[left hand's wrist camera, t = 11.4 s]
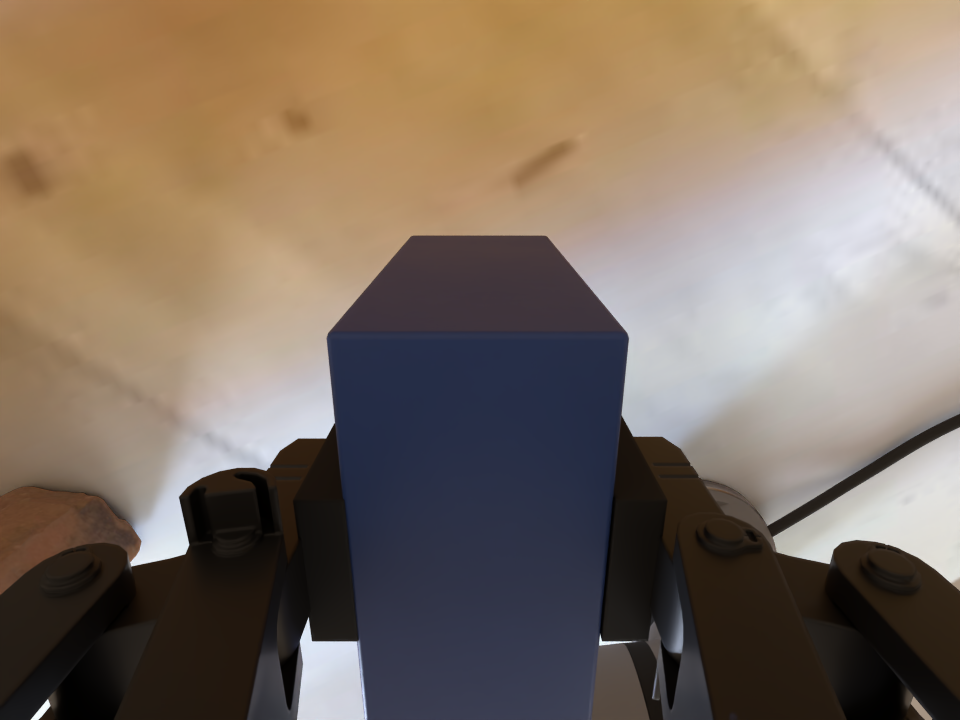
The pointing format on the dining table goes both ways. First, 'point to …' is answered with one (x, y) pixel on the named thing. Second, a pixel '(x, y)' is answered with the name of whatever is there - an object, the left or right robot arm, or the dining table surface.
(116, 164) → the dining table surface
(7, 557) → the stone
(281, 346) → the dining table surface
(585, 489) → the block
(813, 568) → the left robot arm
